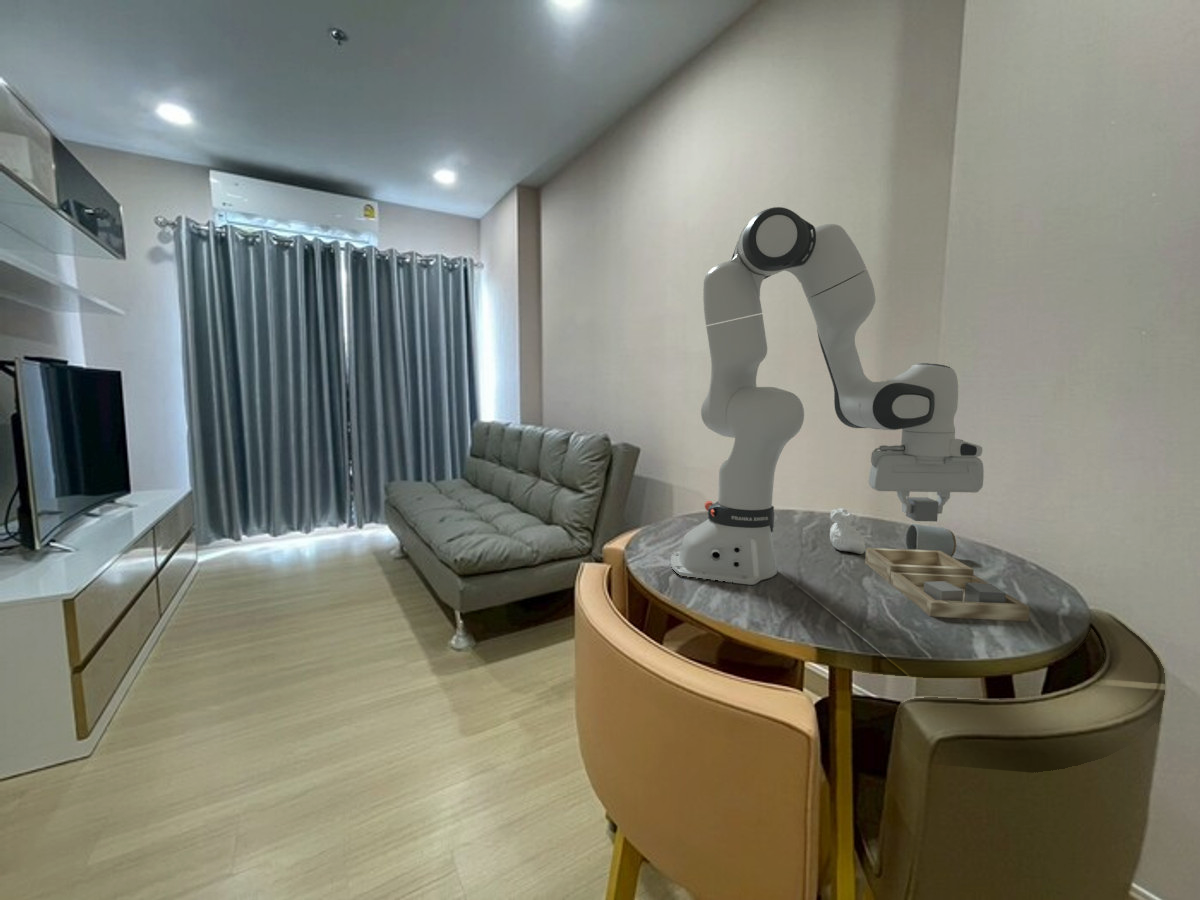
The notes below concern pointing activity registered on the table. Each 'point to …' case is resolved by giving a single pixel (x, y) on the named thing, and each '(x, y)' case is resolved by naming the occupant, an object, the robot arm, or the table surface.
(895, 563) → the tray
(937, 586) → the block
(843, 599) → the table surface
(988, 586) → the stone right
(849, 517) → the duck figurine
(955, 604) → the tray
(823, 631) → the table surface
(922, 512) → the stone mid
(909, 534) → the ceramic mug
